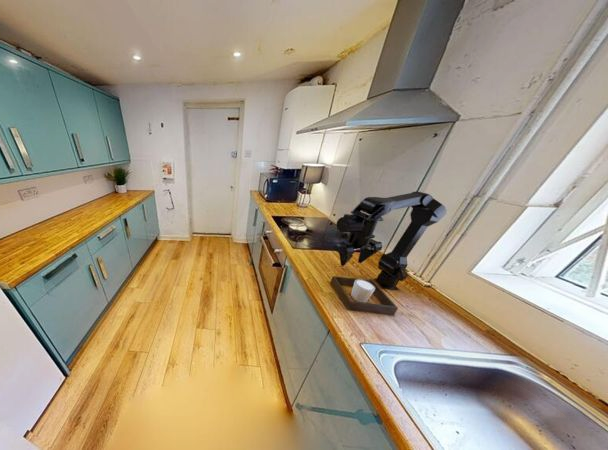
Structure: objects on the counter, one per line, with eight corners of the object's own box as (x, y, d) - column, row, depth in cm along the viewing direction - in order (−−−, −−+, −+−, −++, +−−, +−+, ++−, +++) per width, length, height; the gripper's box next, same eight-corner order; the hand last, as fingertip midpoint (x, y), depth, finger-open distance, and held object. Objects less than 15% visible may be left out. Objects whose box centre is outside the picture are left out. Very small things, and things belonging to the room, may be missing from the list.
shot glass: (372, 305, 79) (379, 292, 76) (353, 302, 80) (359, 289, 77) (363, 293, 85) (369, 280, 82) (346, 290, 86) (351, 277, 83)
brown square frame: (369, 287, 89) (372, 280, 87) (393, 315, 74) (398, 307, 73) (330, 282, 90) (332, 275, 89) (346, 309, 76) (350, 302, 75)
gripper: (362, 220, 85) (350, 251, 91) (327, 224, 80) (317, 256, 87) (390, 231, 75) (375, 265, 82) (352, 236, 70) (339, 272, 77)
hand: (350, 264), depth 82 cm, fingers open, 9 cm apart
